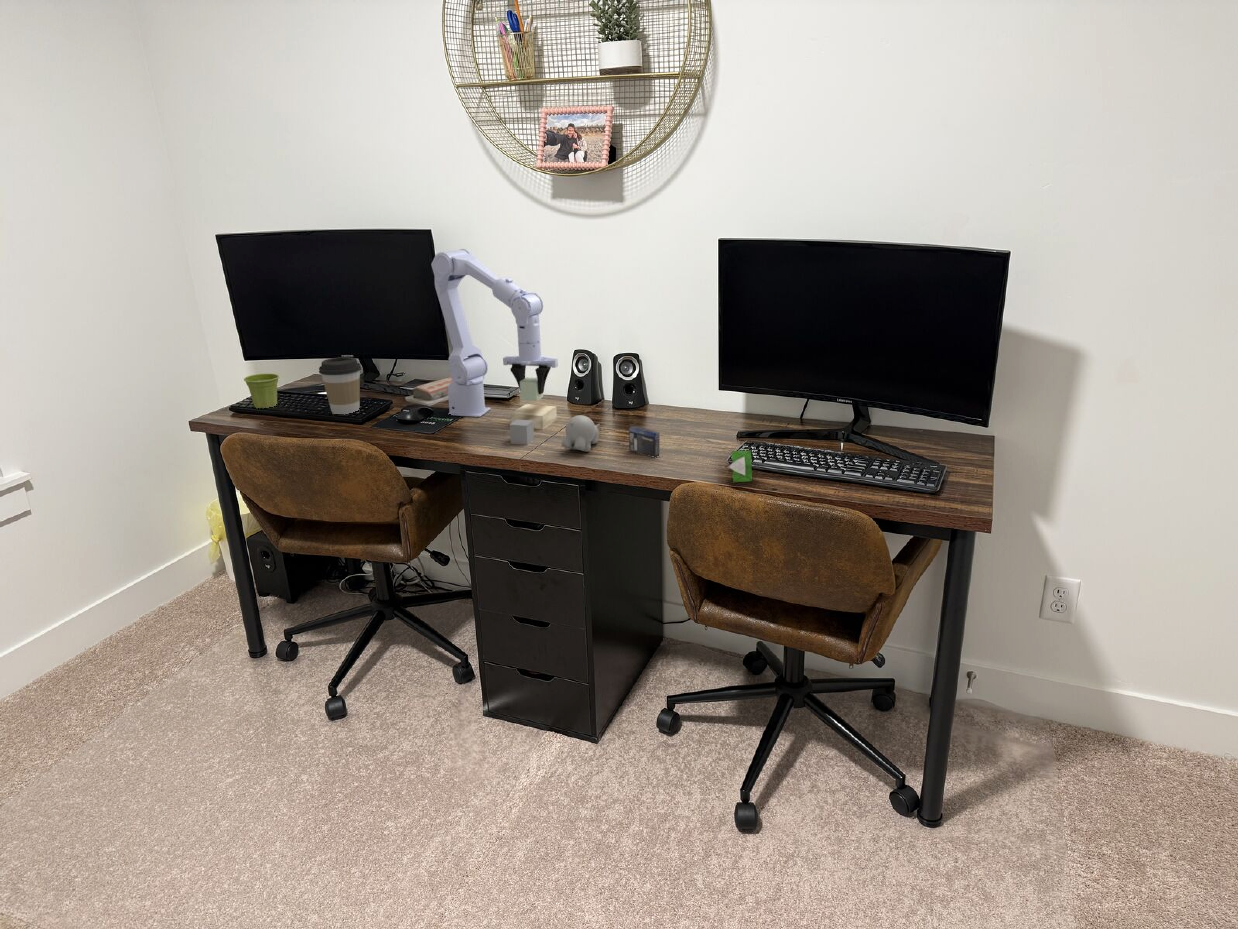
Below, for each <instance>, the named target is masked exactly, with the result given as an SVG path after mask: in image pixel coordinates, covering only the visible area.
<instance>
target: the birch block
mask: <svg viewBox="0 0 1238 929" xmlns="http://www.w3.org/2000/svg"><path fill="white" fill-rule="evenodd" d="M510 414H511V423H512V422H514V421H515V420H516V419H519V420H533V427H534V429H535V430H545V429H547V427H549V426H551V425H552V424H553V423H554V422H556V421H557V419H558V416H557V414H558V412H557V406H553V405H545V404H544V405H543V404H529V403H525V404H523V405H522V406H520V407H519V408H517V409H515V410H514V411H512V412H511V413H510Z"/></svg>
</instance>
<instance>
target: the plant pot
mask: <svg viewBox="0 0 1238 929" xmlns="http://www.w3.org/2000/svg"><path fill="white" fill-rule="evenodd" d="M279 378H280V375H279V374H277V373H257V374H252V375H248V376H246V377H244V378H243V381H244V382H245V384H246V386H247V388H248V390H249V394H250V396H251V399H252V404H253V405H254V408H255V407H256V409H258V408H259V409H264V408H268V409H270V408H269V407H273V408H275V407H276V406H277V405H278V382H279ZM276 404H277V405H276ZM274 406H275V407H274Z"/></svg>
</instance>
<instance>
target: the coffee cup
mask: <svg viewBox="0 0 1238 929" xmlns="http://www.w3.org/2000/svg"><path fill="white" fill-rule="evenodd" d="M318 370H319V371H318V373H319V374H321V378H322V381H323V385H324V386H323V387H324V390H325V393H326V396H327V399H328V400H327V401H328V403H329V407H330V411H331V413H332V415H333V414H349V413H353V412H355V411H358V410H359V411H360V409H361V408H360V401H361V399H360V393H361V391H360V387H361V385H360V384H361V383H360V381H361V379H360V377H361V376H360V375H361V374H360V373H361V372H360V371H361V370H362V366H361V364H360V363H359V362H358V360H357V359H356V358H355V357H351V356H338V357H333V358H327V359H325V360H322V361H321V364H320V366H319V368H318ZM359 408H360V409H359Z"/></svg>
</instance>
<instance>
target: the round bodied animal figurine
mask: <svg viewBox="0 0 1238 929" xmlns="http://www.w3.org/2000/svg"><path fill="white" fill-rule="evenodd" d="M600 425H601V424H600V423H597V424H595V423H594V421H593V420H592V419H591V418H590V417H588V416H586V415H583V414H580V415H579V414H578V415H575V416H573V417H571V418H570V419H568V422H567V423H566V426H565V437H564V438H563V440H562V441H561V446H562V447H563V448H565V449H571V450H576V451H577V450H579V451H582V452H587V453H588V452H591V448H592V447H591V446H592V445H594V444H596V443H598V441H599V435H600V430H599V428H600Z"/></svg>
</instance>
